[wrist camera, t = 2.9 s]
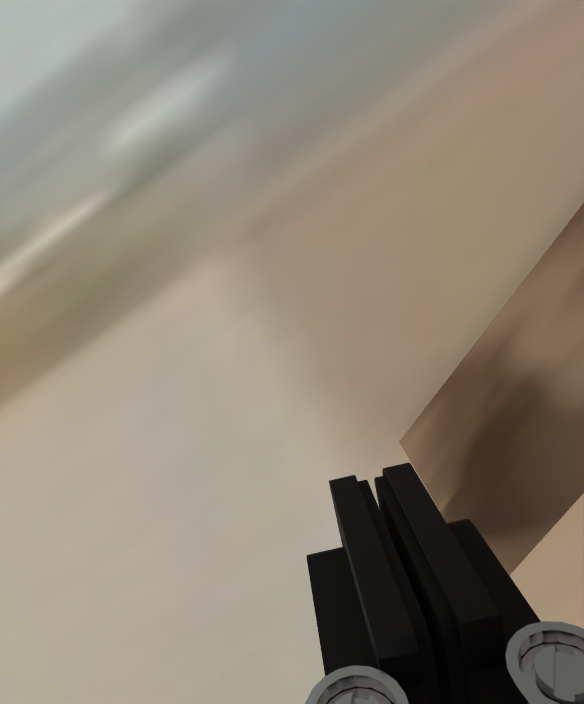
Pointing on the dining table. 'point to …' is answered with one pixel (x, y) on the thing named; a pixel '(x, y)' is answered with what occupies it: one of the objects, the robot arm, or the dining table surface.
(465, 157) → the dining table surface
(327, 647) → the robot arm
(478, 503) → the brown wooden plank
